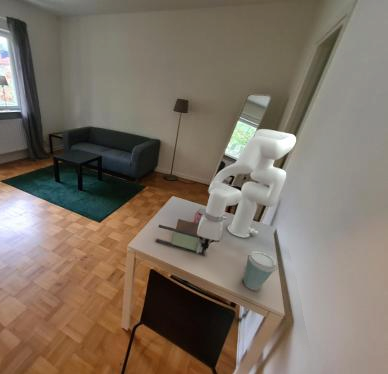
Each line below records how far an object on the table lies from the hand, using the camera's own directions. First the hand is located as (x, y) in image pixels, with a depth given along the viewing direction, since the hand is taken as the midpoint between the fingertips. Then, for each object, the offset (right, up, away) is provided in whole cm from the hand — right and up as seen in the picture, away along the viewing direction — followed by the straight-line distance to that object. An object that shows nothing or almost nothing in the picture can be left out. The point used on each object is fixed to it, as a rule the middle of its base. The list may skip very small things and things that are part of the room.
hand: (204, 248), depth 102 cm
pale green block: (-8, -2, +5) cm, 9 cm away
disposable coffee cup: (+18, -13, -9) cm, 24 cm away
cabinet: (-9, 0, +12) cm, 15 cm away
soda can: (+4, +5, +25) cm, 26 cm away
